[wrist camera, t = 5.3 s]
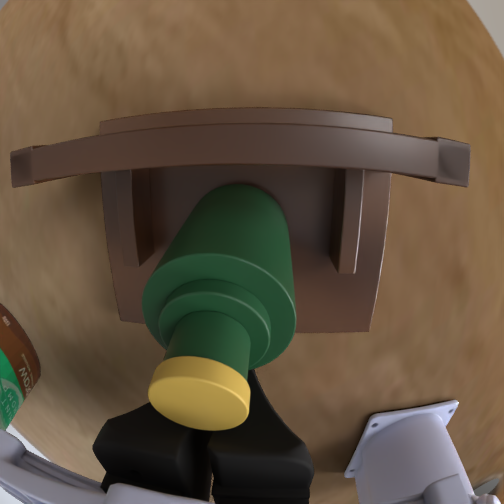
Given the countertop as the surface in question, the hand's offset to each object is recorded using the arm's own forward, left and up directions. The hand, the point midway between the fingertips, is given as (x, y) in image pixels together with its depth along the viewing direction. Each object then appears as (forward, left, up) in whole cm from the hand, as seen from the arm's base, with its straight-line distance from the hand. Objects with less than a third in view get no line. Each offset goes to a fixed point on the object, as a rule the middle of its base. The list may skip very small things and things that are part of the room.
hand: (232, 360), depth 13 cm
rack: (+5, 0, -4) cm, 6 cm away
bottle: (+5, 0, -3) cm, 6 cm away
